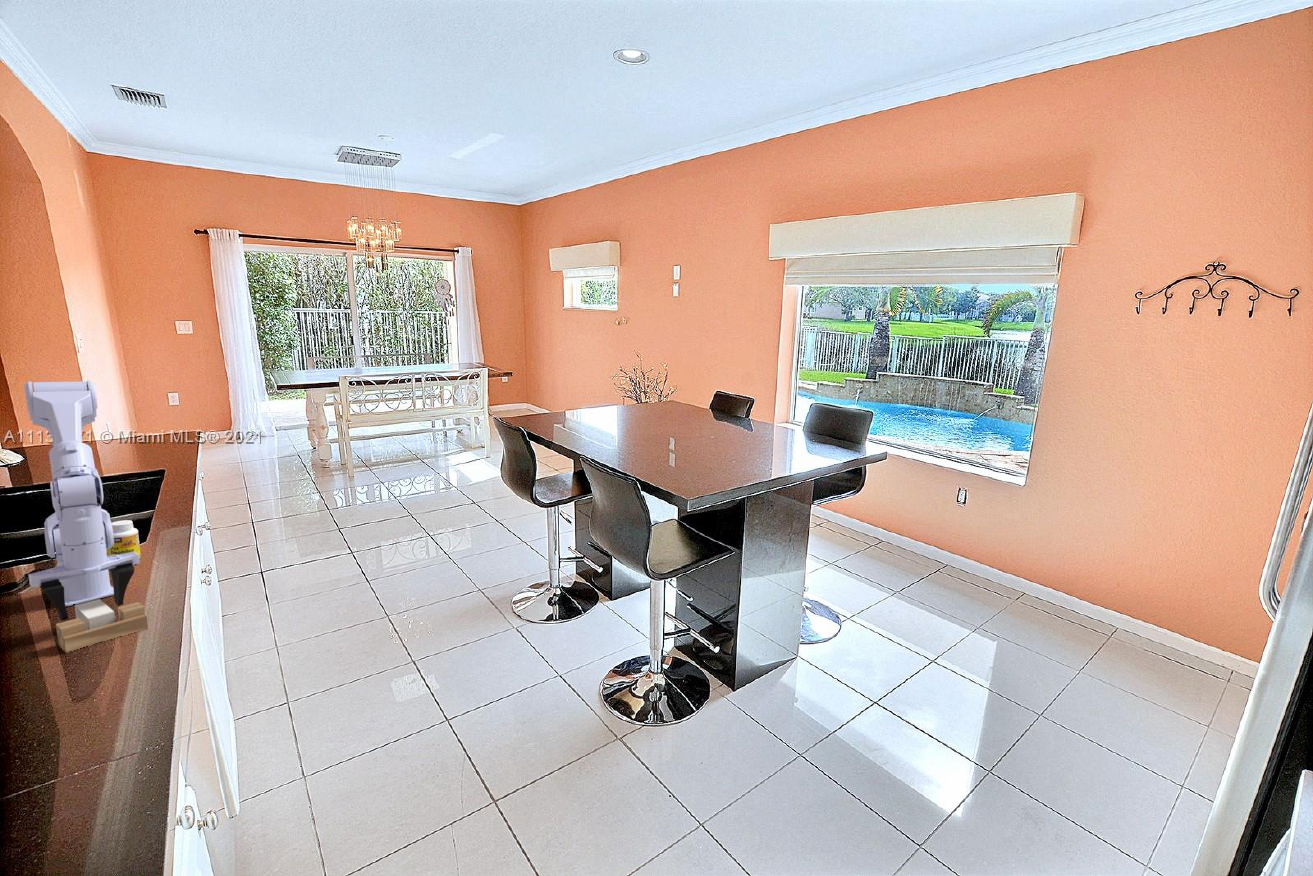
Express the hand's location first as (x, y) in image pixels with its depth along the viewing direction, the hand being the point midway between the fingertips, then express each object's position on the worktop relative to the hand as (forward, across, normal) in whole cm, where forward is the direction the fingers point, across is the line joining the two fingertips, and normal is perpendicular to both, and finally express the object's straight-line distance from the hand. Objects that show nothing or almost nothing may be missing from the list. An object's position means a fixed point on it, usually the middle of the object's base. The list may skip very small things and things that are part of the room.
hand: (92, 611), depth 110 cm
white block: (+3, 0, -1) cm, 3 cm away
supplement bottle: (+3, +13, +33) cm, 35 cm away
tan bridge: (+3, 0, -6) cm, 7 cm away
